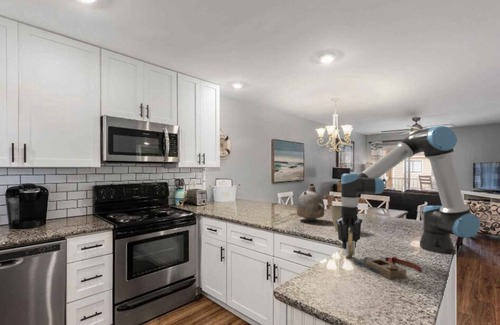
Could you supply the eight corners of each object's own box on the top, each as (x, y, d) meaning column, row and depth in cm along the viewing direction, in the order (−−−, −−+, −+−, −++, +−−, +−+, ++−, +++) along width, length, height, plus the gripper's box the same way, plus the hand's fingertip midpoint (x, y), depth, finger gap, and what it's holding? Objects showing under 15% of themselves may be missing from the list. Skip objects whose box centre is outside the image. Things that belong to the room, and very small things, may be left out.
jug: (290, 221, 203) (290, 183, 204) (301, 217, 221) (301, 182, 221) (320, 225, 189) (321, 184, 190) (330, 220, 207) (330, 183, 207)
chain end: (372, 261, 119) (372, 255, 119) (395, 272, 106) (395, 266, 106) (357, 262, 116) (357, 257, 116) (379, 274, 104) (379, 268, 104)
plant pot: (349, 234, 166) (349, 209, 166) (326, 230, 175) (326, 207, 175) (355, 230, 178) (355, 206, 178) (334, 226, 186) (334, 204, 187)
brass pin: (349, 256, 125) (349, 231, 125) (353, 258, 122) (354, 232, 122) (344, 256, 124) (344, 231, 124) (348, 258, 121) (348, 233, 122)
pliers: (391, 256, 127) (391, 251, 127) (423, 273, 107) (423, 267, 107) (369, 257, 126) (369, 251, 126) (397, 274, 106) (397, 268, 106)
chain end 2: (380, 265, 114) (380, 256, 114) (406, 277, 101) (406, 267, 102) (365, 267, 111) (365, 257, 112) (390, 279, 99) (390, 269, 99)
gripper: (357, 204, 130) (357, 251, 129) (330, 205, 125) (329, 254, 124) (368, 206, 122) (368, 256, 122) (340, 207, 118) (339, 259, 117)
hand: (349, 255), depth 123 cm, fingers closed on brass pin, 3 cm apart
